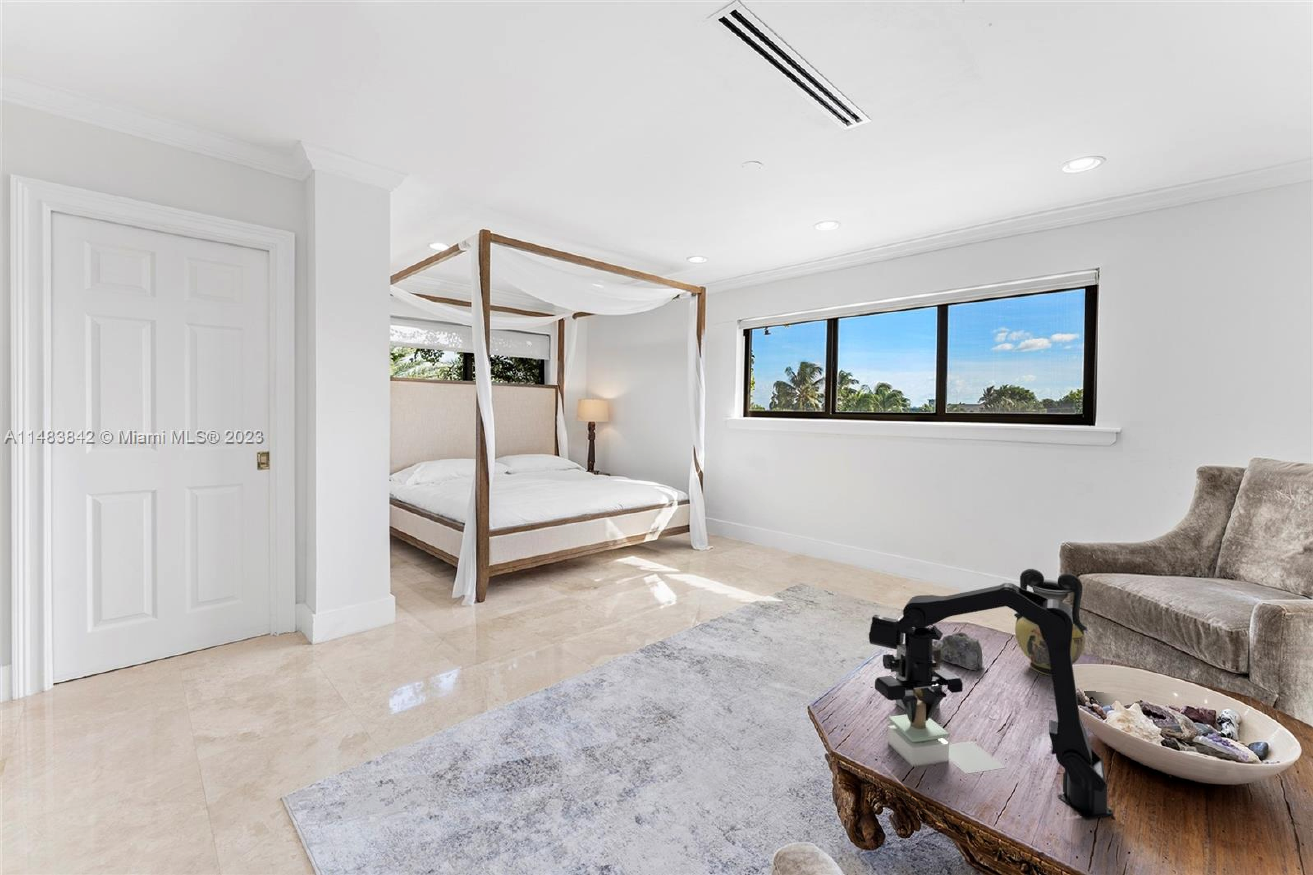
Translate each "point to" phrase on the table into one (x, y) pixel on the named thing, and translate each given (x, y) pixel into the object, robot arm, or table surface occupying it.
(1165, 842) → the table surface
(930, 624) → the robot arm
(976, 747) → the mat
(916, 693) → the coffee box
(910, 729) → the lid
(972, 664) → the mineral rock
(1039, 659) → the amphora
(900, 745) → the white open tray
